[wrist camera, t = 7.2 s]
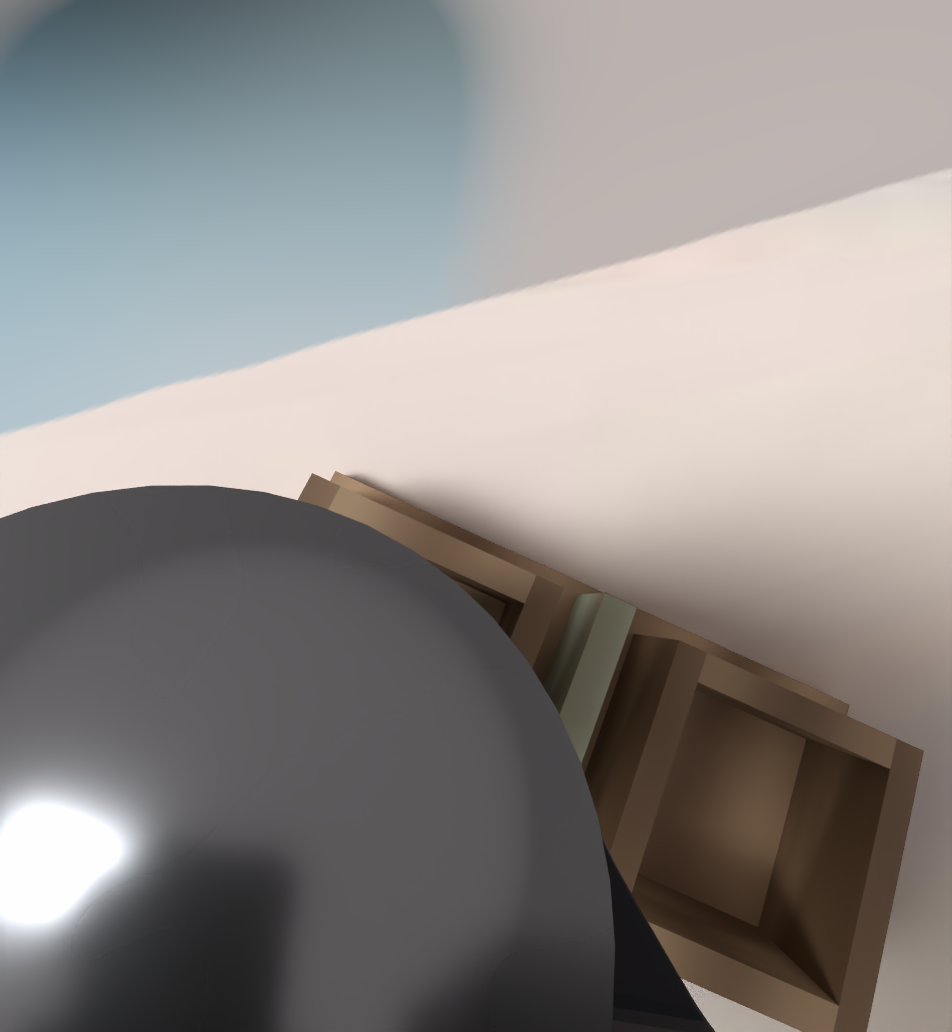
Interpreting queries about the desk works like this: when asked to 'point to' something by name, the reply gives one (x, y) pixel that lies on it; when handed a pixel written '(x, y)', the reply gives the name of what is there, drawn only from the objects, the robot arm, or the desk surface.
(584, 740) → the wooden compartment tray
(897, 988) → the desk surface
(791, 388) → the desk surface
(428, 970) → the brushed steel cylinder
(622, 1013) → the robot arm
